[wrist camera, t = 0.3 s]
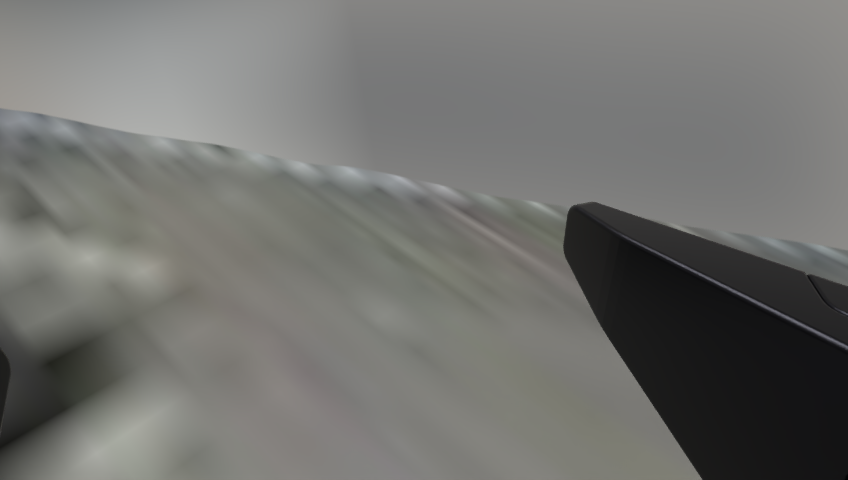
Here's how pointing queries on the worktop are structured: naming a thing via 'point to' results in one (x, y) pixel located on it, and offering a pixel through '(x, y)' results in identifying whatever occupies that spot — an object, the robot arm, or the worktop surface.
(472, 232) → the worktop surface
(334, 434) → the worktop surface
